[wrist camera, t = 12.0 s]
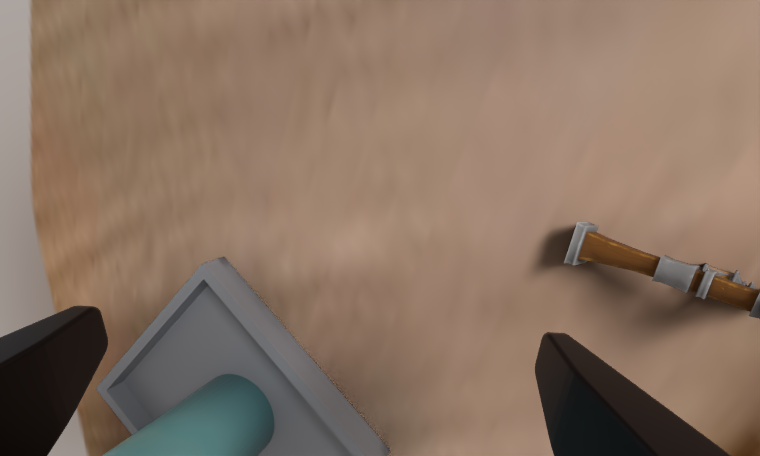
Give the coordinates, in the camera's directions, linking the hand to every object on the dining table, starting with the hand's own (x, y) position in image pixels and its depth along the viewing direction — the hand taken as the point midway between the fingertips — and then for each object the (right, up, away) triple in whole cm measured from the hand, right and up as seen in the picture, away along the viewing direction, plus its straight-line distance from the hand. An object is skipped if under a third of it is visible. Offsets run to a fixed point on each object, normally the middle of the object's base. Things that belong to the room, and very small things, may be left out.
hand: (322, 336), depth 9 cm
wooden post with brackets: (+13, +1, +10) cm, 17 cm away
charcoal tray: (-7, -9, +17) cm, 21 cm away
